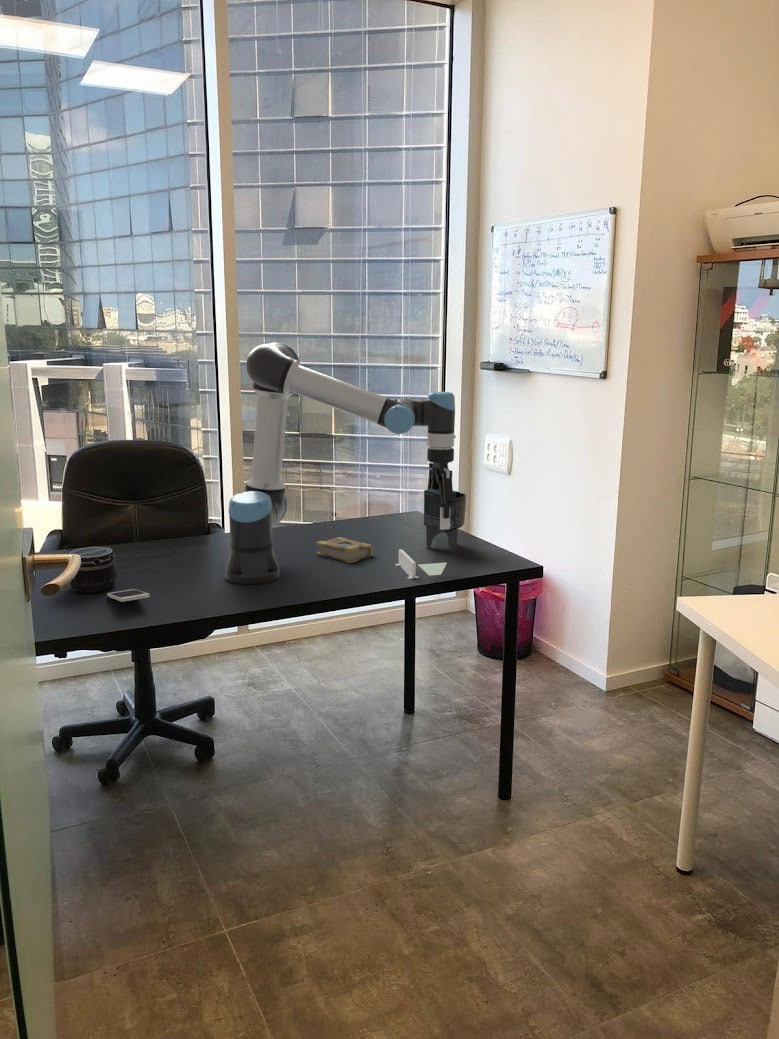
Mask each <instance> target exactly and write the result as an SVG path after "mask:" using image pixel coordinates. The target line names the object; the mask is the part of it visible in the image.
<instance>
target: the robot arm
mask: <svg viewBox="0 0 779 1039" xmlns="http://www.w3.org/2000/svg"><path fill="white" fill-rule="evenodd" d="M300 363H301V361H300V357H299V355H298V353H297V352H296V351H295V349H294V348H293V347H292V346H290V345H289V344H287V343H283V342H279V341H276V342H275V341H273V342H269V343H264V344H260V345H258V346H256V347H254V348H253V349H252V350H251V351H250V352H249V354H248V356H247V358H246V367H245V368H246V372H247V375H248V377H249V378H250V380H251V381H252V382H253V383H252V384H253V385H252V390H253V391H254V392H255V394H256V396H257V402H256V411H255V412H256V414H255V426H254V440H253V452H252V465H251V477H250V478H248V479H247V480H246V481H245V487H244V488H245V489H244V491H243V492H241V493H236V494H235V495H233V496H232V497H231V498H230V500H229V505H228V515H229V516H228V519H229V538H230V540H229V541H230V543H229V544H230V551H229V552H230V553H229V556H228V559H227V563H226V566H225V568H224V569H225V570H224V572H225V575H224V576H225V580H227V581H228V582H230V583H234V584H238V585H240V584H241V585H257V584H265V583H269V582H272V581H276V580H278V578H279V577H280V566H279V563H278V561H277V559H276V556H275V552H274V550H273V549H274V548H273V528H275V527H276V526H277V525H278V524H279V523H281V521H283V519H284V517H285V515H286V513H287V510H288V509H287V508H288V500H287V498H286V495H285V494H286V484H285V483H284V481H282V470H283V461H284V460H283V459H284V449H285V448H284V447H285V435H286V426H287V424H286V423H287V415H288V414H287V413H288V402H289V401H288V400H289V399H290V397H291V396H292V395H294V394H295V395H296V396H297V395H298V396H300V397H303V398H305V399H308V400H310V401H314V402H315V403H319V404H322V405H324V406H327V407H330V408H333V409H334V410H335V409H336V410H338V411H341V412H343V413H347V414H349V415H352V416H355V417H356V418H360V419H363V420H365V421H367V422H371V423H373V424H376V425H378V426H381V427H383V428H386V429H387V430H388V431H389V432H391V433H393V434H396V435H403V434H405V433H408V432H409V431H410V430H411V429H412V428H413V427H427V436H426V438H427V439H426V440H427V441H426V442H427V443H426V445H427V447H428V448H427V452H426V453H427V454H426V457H427V458H426V460H427V462H428V463H429V464H428V480H427V489H426V490H428V489H436V488H439V489H440V497H441V504H442V505H440V506H439V507H440V529H441V530H443V529H450V507H451V506H453V491H454V490H453V488H454V487H453V470H450V469H449V463H453V462H454V461H455V449H454V446H455V439H456V437H457V436H456V435H455V425H456V423H455V422H456V421H455V420H456V417H455V416H456V404H455V403H456V402H455V395H454V393H452V392H449V391H430V392H428V393H427V394H428V396H427V398H422V399H420V398H419V399H418V398H417V399H416V398H399V397H397V398H388V397H386V396H383V395H380V394H378V393H375V392H373V391H370V390H367V389H365V388H362V387H359V386H357V385H353V384H351V383H348V382H346V381H343V380H340V379H337V378H334V377H332V376H330V375H326V374H324V373H322V372H318V371H316V370H313V369H311V368H308V367H306V366H303V365H301V364H300ZM447 501H448V502H447Z"/></svg>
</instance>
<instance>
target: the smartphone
mask: <svg viewBox="0 0 779 1039" xmlns="http://www.w3.org/2000/svg"><path fill="white" fill-rule="evenodd" d="M106 595H107V597H109V598H110V599H113V600H116V601H118V602H122V603H123V602H127V601H128V602H130V601H134V600H135V601H136V600H140V599H146V598H150V593H148V592H144V591H141V590H139V589H134V588H132V589H127V590H121V591H119V590H118V591H114V592H113V591H112V592H108V593H106Z"/></svg>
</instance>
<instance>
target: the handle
mask: <svg viewBox="0 0 779 1039" xmlns="http://www.w3.org/2000/svg"><path fill="white" fill-rule="evenodd" d="M416 565H417V563H416V562H415V561H414V559H413V558H411V557H410V555H409V554H408V553H406V551H404V550H403V549H398V563H395V565H394V566H396V567H400V566H401V567H400V568H401V570H403V571H404V572H405V573H406V574H407V575H408V576H407V579H408V580H412V579H413V580H415V578H416V579H420V577H419V576H418V575H416V572H417V571H416V570H417V569H416V568H417V566H416Z"/></svg>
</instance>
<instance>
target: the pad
mask: <svg viewBox="0 0 779 1039" xmlns="http://www.w3.org/2000/svg"><path fill="white" fill-rule="evenodd" d="M446 565H447V562H435V563H424V564H423V563H422V564H421V563H420V564H419V563H418V567H419V568H421V569H422V571H423V572H425V573H426V575H427V576H429V577H430V576H440V575H442V574H443V571H444V569H445V567H446Z"/></svg>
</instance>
